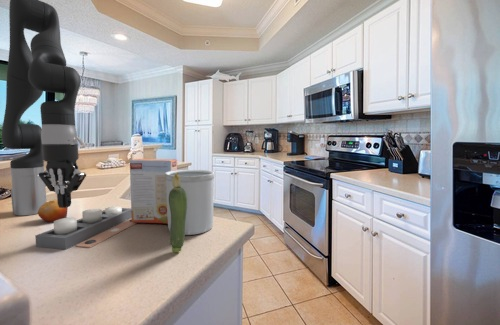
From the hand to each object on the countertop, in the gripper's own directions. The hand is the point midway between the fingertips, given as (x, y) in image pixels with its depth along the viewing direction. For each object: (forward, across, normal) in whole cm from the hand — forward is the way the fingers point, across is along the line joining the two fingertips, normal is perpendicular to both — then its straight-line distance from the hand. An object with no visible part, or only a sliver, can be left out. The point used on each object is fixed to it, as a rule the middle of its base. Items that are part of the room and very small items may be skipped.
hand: (64, 206), depth 67 cm
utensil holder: (+10, +29, +16) cm, 34 cm away
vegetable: (+10, +33, 0) cm, 34 cm away
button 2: (+8, 0, +18) cm, 20 cm away
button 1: (+7, 0, 0) cm, 7 cm away
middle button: (+7, 0, +9) cm, 11 cm away
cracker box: (+9, +15, +19) cm, 26 cm away
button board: (+10, 0, +9) cm, 13 cm away
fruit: (+10, -20, +14) cm, 26 cm away
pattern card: (+10, +7, +9) cm, 15 cm away
